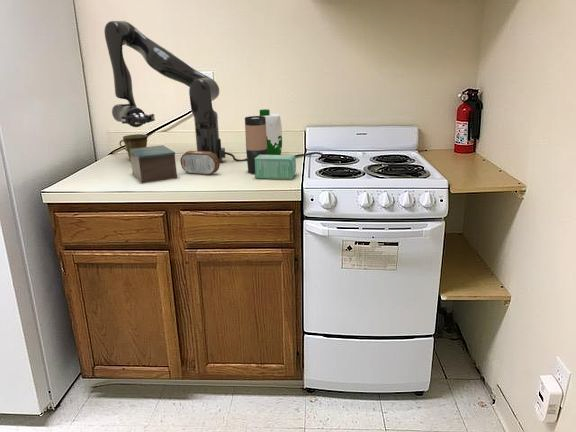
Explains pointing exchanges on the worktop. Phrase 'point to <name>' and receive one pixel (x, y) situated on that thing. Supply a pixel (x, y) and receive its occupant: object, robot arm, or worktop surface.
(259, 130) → the travel mug
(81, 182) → the worktop surface
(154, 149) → the lid
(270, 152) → the milk carton
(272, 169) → the box
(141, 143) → the ceramic cup
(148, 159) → the chest
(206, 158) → the tin
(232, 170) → the worktop surface
